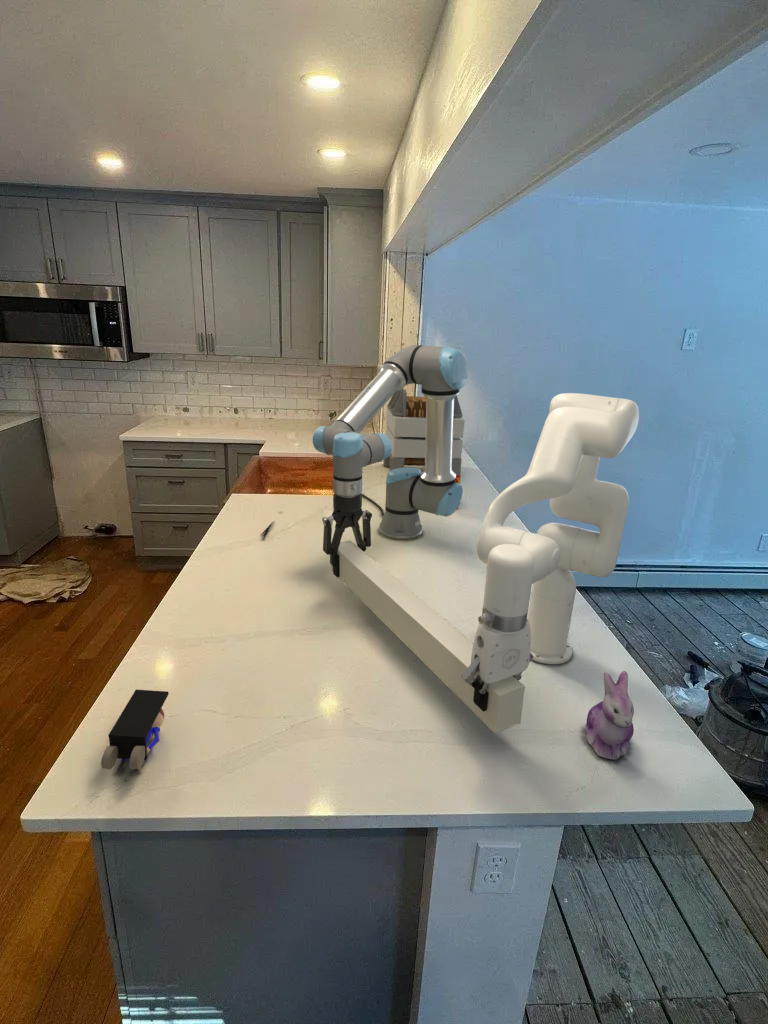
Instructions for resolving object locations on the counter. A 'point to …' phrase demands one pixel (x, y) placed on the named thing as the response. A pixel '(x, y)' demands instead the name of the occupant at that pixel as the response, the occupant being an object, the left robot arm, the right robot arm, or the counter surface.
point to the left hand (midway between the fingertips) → (347, 572)
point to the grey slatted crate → (416, 432)
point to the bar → (427, 636)
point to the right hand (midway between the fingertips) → (494, 700)
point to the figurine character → (135, 730)
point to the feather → (267, 530)
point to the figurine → (611, 719)
